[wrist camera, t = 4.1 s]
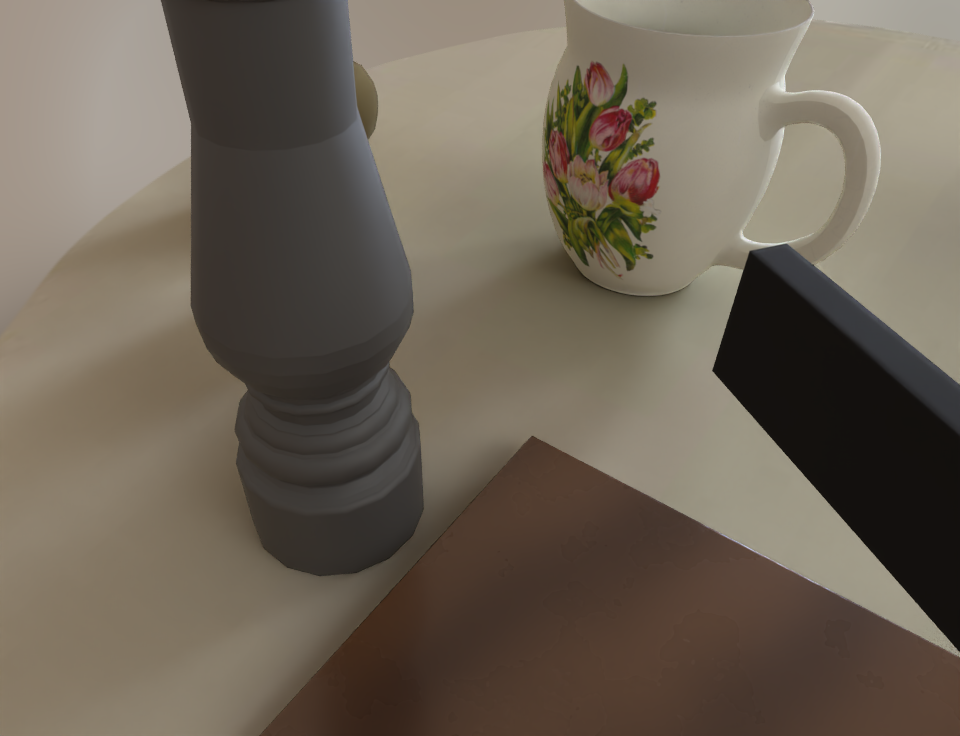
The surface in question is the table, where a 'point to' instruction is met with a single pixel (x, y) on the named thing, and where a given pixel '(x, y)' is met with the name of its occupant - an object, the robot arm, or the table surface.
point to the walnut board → (615, 632)
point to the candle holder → (299, 278)
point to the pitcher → (684, 137)
